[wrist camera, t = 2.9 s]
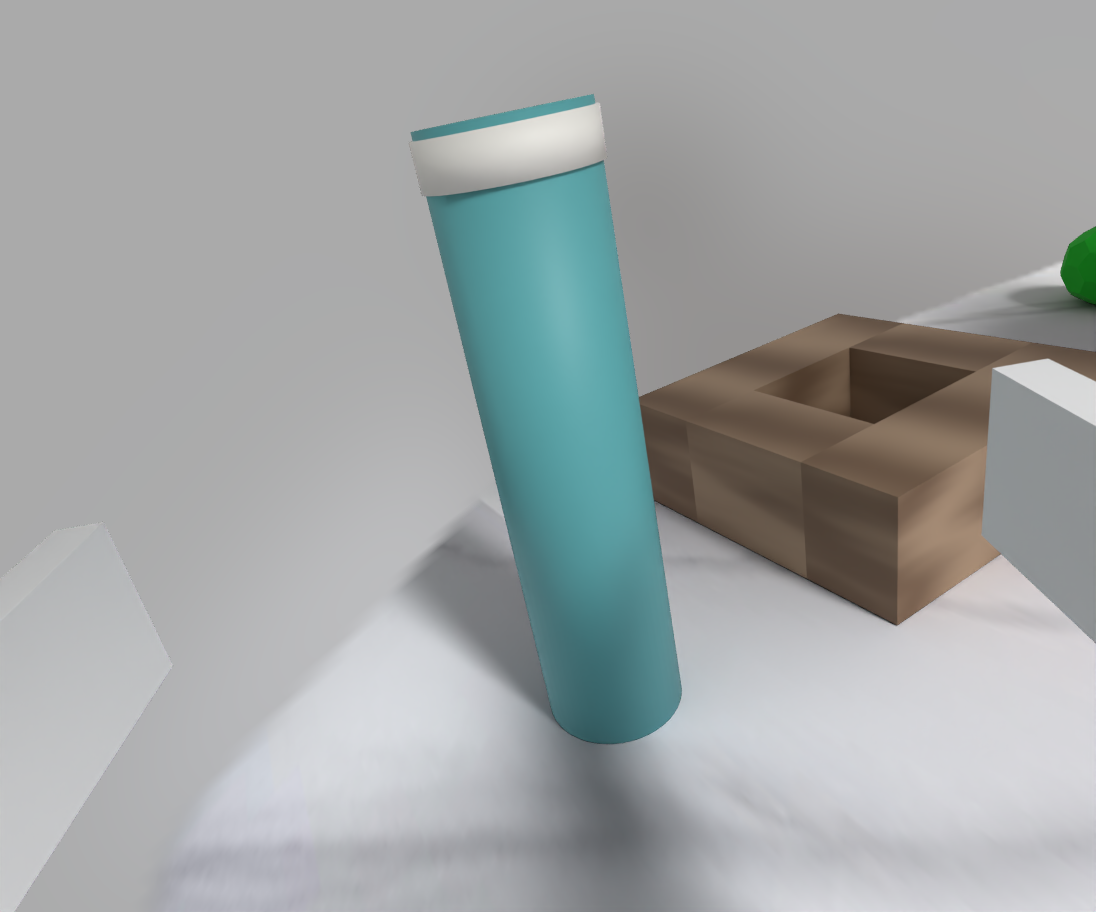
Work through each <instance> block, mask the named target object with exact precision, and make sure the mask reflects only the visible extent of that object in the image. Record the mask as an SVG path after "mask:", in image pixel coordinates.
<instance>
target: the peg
mask: <svg viewBox="0 0 1096 912" xmlns="http://www.w3.org/2000/svg"><path fill="white" fill-rule="evenodd" d="M411 136H412V140H413V141H411V142H409V146H410V150H411V154H412V158H413V161H414V166H415V170H416V174H417V178H418V182H419V186H420V190H421V194H422V196H426V197H427V202H428V205H429V210H430V214H431V217H432V222H433V226H434V230H435V234H436V238H437V243H438V247H439V250H440V255H441V259H442V263H443V267H444V271H445V275H446V279H447V283H448V288H449V292H450V296H451V300H452V304H453V308H454V312H455V316H456V320H457V324H458V329H459V333H460V336H461V341H462V345H463V349H464V353H465V357H466V361H467V365H468V369H469V374H470V377H471V381H472V386H473V390H474V394H475V398H476V402H477V406H478V410H479V415H480V418H481V422H482V427H483V431H484V435H485V439H486V443H487V447H488V451H489V455H490V460H491V463H492V468H493V472H494V476H495V480H496V484H497V488H498V492H499V496H500V501H501V505H502V509H503V513H504V517H505V521H506V525H507V529H508V533H509V537H510V541H511V546H512V550H513V554H514V558H515V562H516V566H517V570H518V574H519V578H520V582H521V587H522V591H523V595H524V599H525V603H526V607H527V611H528V615H529V619H530V623H531V627H532V632H533V636H534V640H535V644H536V648H537V652H538V656H539V660H540V664H541V668H542V673H543V677H544V681H545V685H546V689H547V693H548V697H549V701H550V705H551V709H552V712H553V715H554V717H555V719H556V721H557V722H558V723H559V725H560V726H561V727H562V728H563V729H564V730H565V731H567V732H568V733H570V734H571V735H573V736H575V737H577V738H579V739H582V740H585V741H589V742H593V743H601V744H616V743H624V742H629V741H633V740H636V739H639V738H642V737H644V736H646V735H649V734H651V733H652V732H654V731H656V730H657V729H659V728H660V727H661V726H663V725H664V724H665V723H666V722H667V721H668V720H669V719H670V718H671V717H672V715H673V714H674V713H675V711H676V709H677V708H678V705H679V703H680V699H681V692H682V688H681V681H680V674H679V667H678V661H677V654H676V647H675V640H674V634H673V627H672V620H671V613H670V606H669V600H668V593H667V586H666V579H665V573H664V566H663V559H662V552H661V545H660V539H659V532H658V525H657V518H656V512H655V505H654V498H653V491H652V485H651V478H650V471H649V464H648V457H647V451H646V444H645V437H644V430H643V424H642V417H641V410H640V403H639V396H638V390H637V384H636V376H635V369H634V363H633V356H632V349H631V342H630V336H629V329H628V322H627V316H626V308H625V302H624V295H623V288H622V282H621V276H620V268H619V262H618V254H617V247H616V242H615V234H614V227H613V220H612V214H611V207H610V200H609V194H608V187H607V180H606V173H605V166H604V159H606V158H607V151H606V144H605V137H604V130H603V123H602V117H601V109H600V103H595V98H594V94H592V95H587V96H582V97H577V98H572V99H567V100H562V101H557V102H552V103H547V104H542V105H537V106H533V107H528V108H523V109H518V110H513V111H508V112H504V113H499V114H494V115H489V116H484V117H480V118H475V119H470V120H465V121H461V122H456V123H451V124H446V125H442V126H437V127H432V128H428V129H423V130H419V131H414V132H411Z"/></svg>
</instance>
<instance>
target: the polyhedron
mask: <svg viewBox="0 0 1096 912" xmlns="http://www.w3.org/2000/svg"><path fill="white" fill-rule="evenodd" d="M1060 273H1061V277H1062V280H1063V282H1064V284H1065V286H1066V288H1067V290H1068V291H1069V292H1070V294H1071V295H1073V296H1075V297H1077V298H1079V299H1081V300H1083V301H1085V302H1088V303H1091V304H1095V305H1096V227H1094V228H1092V229H1090V230H1088V231H1086V232H1084V233H1083V234H1082V235H1080V236H1079V237H1078V238H1076V239H1075V240H1074V241H1073V242H1071V243H1070V244H1069V246H1068V249H1067V252H1066V254H1065V256H1064V260H1063V264H1062V267H1061V271H1060Z"/></svg>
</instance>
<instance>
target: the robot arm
mask: <svg viewBox="0 0 1096 912" xmlns="http://www.w3.org/2000/svg"><path fill="white" fill-rule="evenodd" d="M981 535H982V536H983V537H984V538H985V539H986V540H987V541H988V542H989V543H990V544H991V545H992V546H993V547H994V548H995V549H996V550H998V551H999V552H1000V553H1001V554H1002V555H1003V556H1004V557H1005V558H1006V559H1007V560H1008V561H1009V562H1010V563H1011V564H1012V565H1013V566H1014V567H1016V568H1017V569H1018V570H1019V571H1020V572H1021V573H1022V574H1023V575H1024V576H1025V577H1026V578H1027V579H1028V580H1029V581H1030V582H1031V583H1032V584H1034V585H1035V586H1036V587H1037V588H1038V589H1039V590H1040V591H1041V592H1042V593H1043V594H1044V595H1045V596H1046V597H1047V598H1048V599H1049V600H1050V601H1052V602H1053V603H1054V604H1055V605H1056V606H1057V607H1058V608H1059V609H1060V610H1061V611H1062V612H1063V613H1064V614H1065V615H1066V616H1067V617H1068V618H1069V619H1071V620H1072V621H1073V622H1074V623H1075V624H1076V625H1077V626H1078V627H1079V628H1080V629H1081V630H1082V631H1083V632H1084V633H1085V634H1086V635H1087V636H1089V637H1090V638H1091V639H1092V640H1093V641H1094V642H1095V643H1096V381H1094V380H1091V379H1089V378H1087V377H1085V376H1083V375H1081V374H1079V373H1077V372H1075V371H1073V370H1071V369H1069V368H1067V367H1064V366H1062V365H1060V364H1058V363H1056V362H1054V361H1052V360H1050V359H1042V360H1037V361H1031V362H1025V363H1019V364H1013V365H1008V366H1002V367H996V368H992V382H991V397H990V412H989V427H988V443H987V458H986V473H985V489H984V504H983V519H982V534H981ZM172 667H173V664H172V662H171V660H170V658H169V656H168V654H167V652H166V650H165V648H164V646H163V644H162V642H161V640H160V638H159V635H158V633H157V631H156V629H155V627H154V625H153V623H152V621H151V619H150V617H149V615H148V613H147V611H146V608H145V606H144V604H143V602H142V600H141V598H140V596H139V594H138V592H137V590H136V588H135V586H134V584H133V582H132V579H131V577H130V575H129V573H128V571H127V569H126V567H125V565H124V563H123V561H122V559H121V557H120V555H119V553H118V551H117V548H116V546H115V544H114V542H113V540H112V538H111V536H110V534H109V532H108V530H107V528H106V526H105V524H104V522H100V523H94V524H89V525H83V526H78V527H71V528H65V529H60V530H55V531H54V532H53V533H52V534H51V535H49V536H48V537H47V538H46V539H45V540H44V541H43V542H41V543H40V544H39V545H38V546H37V547H36V548H35V549H34V550H32V551H31V552H30V553H29V554H28V555H27V556H26V557H24V558H23V559H22V560H21V561H20V562H19V563H18V564H17V565H15V566H14V567H13V568H12V569H11V570H10V571H9V572H8V573H6V574H5V575H4V576H3V577H2V578H1V579H0V912H15V911H16V909H17V907H18V906H19V904H20V903H21V901H22V900H23V898H24V897H25V895H26V893H27V892H28V890H29V888H30V887H31V886H32V884H33V883H34V881H35V879H36V878H37V876H38V875H39V873H40V872H41V870H42V868H43V867H44V866H45V864H46V862H47V861H48V859H49V858H50V856H51V855H52V853H53V851H54V850H55V848H56V847H57V845H58V844H59V842H60V841H61V839H62V837H63V836H64V834H65V833H66V831H67V830H68V828H69V826H70V825H71V823H72V822H73V820H74V819H75V817H76V816H77V814H78V813H79V811H80V810H81V808H82V806H83V805H84V803H85V802H86V800H87V799H88V797H89V796H90V794H91V793H92V791H93V789H94V788H95V786H96V785H97V783H98V782H99V780H100V779H101V777H102V775H103V774H104V772H105V771H106V769H107V767H108V766H109V764H110V763H111V761H112V760H113V758H114V756H115V755H116V754H117V752H118V751H119V749H120V747H121V746H122V744H123V743H124V741H125V740H126V738H127V737H128V735H129V733H130V732H131V730H132V729H133V727H134V726H135V724H136V723H137V721H138V719H139V718H140V716H141V715H142V713H143V711H144V710H145V709H146V707H147V705H148V704H149V702H150V701H151V699H152V698H153V696H154V695H155V693H156V692H157V690H158V688H159V687H160V685H161V684H162V682H163V681H164V679H165V678H166V676H167V674H168V673H169V671H170V670H171V668H172Z"/></svg>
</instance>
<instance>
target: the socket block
mask: <svg viewBox="0 0 1096 912" xmlns="http://www.w3.org/2000/svg"><path fill="white" fill-rule="evenodd" d="M1042 359H1050V360H1052V361H1054V362H1056V363H1058V364H1060V365H1062V366H1064V367H1067V368H1069V369H1071V370H1073V371H1075V372H1077V373H1079V374H1081V375H1083V376H1085V377H1087V378H1089V379H1091V380H1094V381H1096V352H1092V351H1085V350H1078V349H1072V348H1065V347H1058V346H1052V345H1045V344H1038V343H1032V342H1025V341H1018V340H1011V339H1005V338H998V337H991V336H985V335H978V334H971V333H964V332H958V331H951V330H944V329H938V328H931V327H924V326H917V325H911V324H904V323H897V322H891V321H884V320H877V319H870V318H863V317H857V316H850V315H843V314H837V315H834V316H832V317H829V318H827V319H825V320H822V321H820V322H817V323H815V324H813V325H810V326H808V327H805V328H803V329H801V330H798V331H796V332H793V333H791V334H789V335H786V336H784V337H782V338H780V339H777V340H774V341H772V342H770V343H767V344H765V345H762V346H760V347H758V348H755V349H753V350H750V351H748V352H746V353H743V354H741V355H739V356H736V357H734V358H731V359H729V360H727V361H724V362H722V363H719V364H717V365H715V366H712V367H710V368H707V369H705V370H703V371H700V372H698V373H695V374H693V375H691V376H688V377H686V378H684V379H681V380H679V381H677V382H674V383H672V384H669V385H667V386H664V387H662V388H660V389H657V390H655V391H653V392H650V393H648V394H645V395H643V396H641V397H639V403H640V410H641V417H642V424H643V430H644V437H645V444H646V451H647V457H648V464H649V471H650V478H651V485H652V491H653V498H654V500H655V501H657V502H659V503H661V504H663V505H665V506H667V507H669V508H671V509H673V510H674V511H676V512H678V513H680V514H682V515H684V516H686V517H688V518H690V519H692V520H694V521H696V522H698V523H700V524H702V525H704V526H706V527H707V528H709V529H711V530H713V531H715V532H717V533H719V534H721V535H723V536H725V537H727V538H729V539H731V540H733V541H735V542H737V543H739V544H740V545H742V546H744V547H746V548H748V549H750V550H752V551H754V552H756V553H758V554H760V555H762V556H764V557H766V558H768V559H770V560H771V561H773V562H775V563H777V564H779V565H781V566H783V567H785V568H787V569H789V570H791V571H793V572H795V573H797V574H799V575H801V576H803V577H804V578H806V579H808V580H810V581H812V582H814V583H816V584H818V585H820V586H822V587H824V588H826V589H828V590H830V591H832V592H834V593H836V594H837V595H839V596H841V597H843V598H845V599H847V600H849V601H851V602H853V603H855V604H857V605H859V606H861V607H863V608H865V609H867V610H869V611H870V612H872V613H874V614H876V615H878V616H880V617H882V618H884V619H886V620H888V621H890V622H892V623H894V624H896V625H899V624H900V623H901V622H903V621H904V620H906V619H907V618H909V617H910V616H912V615H913V614H914V613H916V612H917V611H919V610H920V609H922V608H923V607H925V606H926V605H928V604H929V603H930V602H932V601H933V600H935V599H936V598H938V597H939V596H941V595H942V594H943V593H945V592H946V591H948V590H949V589H951V588H952V587H954V586H955V585H957V584H958V583H959V582H961V581H962V580H964V579H965V578H967V577H968V576H970V575H971V574H973V573H974V572H975V571H977V570H978V569H980V568H981V567H983V566H984V565H986V564H987V563H988V562H990V561H991V560H993V559H994V558H996V557H997V556H999V555H1000V554H1001V553H1000V552H999V551H998V550H996V549H995V548H994V547H993V546H992V545H991V544H990V543H989V542H988V541H987V540H986V539H985V538H984V537H983V536H982V535H981V534H982V519H983V504H984V489H985V473H986V458H987V443H988V427H989V412H990V397H991V382H992V368H996V367H1002V366H1008V365H1013V364H1019V363H1025V362H1031V361H1037V360H1042Z"/></svg>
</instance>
